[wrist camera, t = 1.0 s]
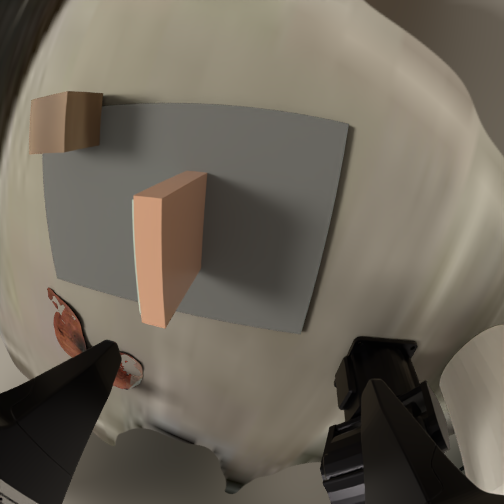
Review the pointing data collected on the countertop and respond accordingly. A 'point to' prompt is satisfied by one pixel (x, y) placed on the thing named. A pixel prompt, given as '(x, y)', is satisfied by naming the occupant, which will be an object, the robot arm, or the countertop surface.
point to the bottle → (478, 407)
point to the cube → (65, 122)
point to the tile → (167, 243)
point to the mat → (216, 204)
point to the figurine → (75, 344)
